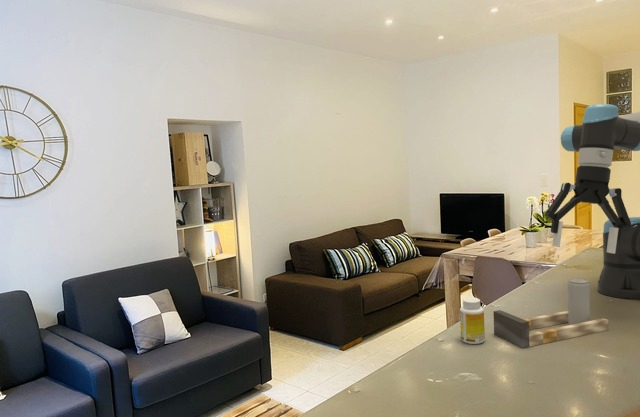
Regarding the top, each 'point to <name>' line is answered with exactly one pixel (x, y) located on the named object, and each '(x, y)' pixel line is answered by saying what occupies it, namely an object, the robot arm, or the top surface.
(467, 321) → the supplement bottle
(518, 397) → the top surface
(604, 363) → the top surface
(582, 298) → the beverage can
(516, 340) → the guide channel
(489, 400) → the top surface
